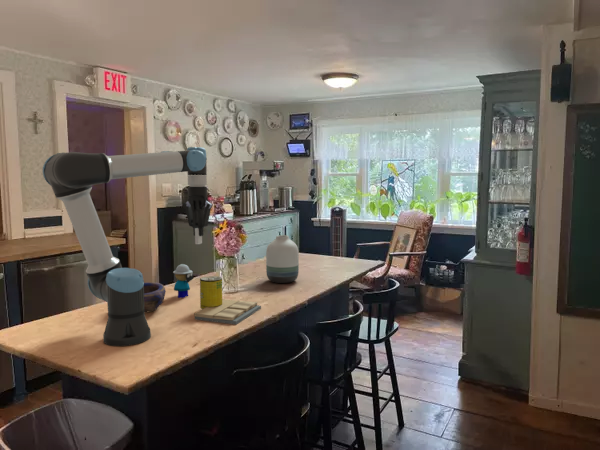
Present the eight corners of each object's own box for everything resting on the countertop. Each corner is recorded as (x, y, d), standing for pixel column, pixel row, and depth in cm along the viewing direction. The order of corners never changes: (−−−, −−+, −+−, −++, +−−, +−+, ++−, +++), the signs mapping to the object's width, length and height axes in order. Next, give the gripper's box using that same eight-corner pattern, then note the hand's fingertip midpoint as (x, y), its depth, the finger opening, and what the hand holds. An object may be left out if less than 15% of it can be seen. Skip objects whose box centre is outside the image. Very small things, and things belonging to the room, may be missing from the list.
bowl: (117, 318, 179) (116, 293, 178) (122, 306, 197) (121, 283, 195) (165, 315, 184) (165, 290, 183) (166, 303, 201) (165, 280, 200)
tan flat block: (232, 320, 173) (232, 317, 173) (213, 318, 176) (213, 315, 176) (244, 312, 183) (244, 310, 182) (226, 311, 185) (226, 308, 185)
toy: (188, 299, 207) (187, 266, 206) (170, 298, 209) (169, 265, 207) (196, 294, 216) (195, 262, 214) (178, 293, 217) (178, 262, 216)
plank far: (246, 311, 184) (246, 308, 184) (228, 309, 187) (228, 307, 187) (257, 304, 194) (257, 302, 194) (240, 303, 197) (240, 300, 196)
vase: (262, 284, 236) (261, 237, 234) (271, 276, 253) (271, 233, 250) (294, 286, 232) (294, 238, 230) (301, 278, 249) (302, 234, 246)
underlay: (236, 324, 173) (236, 318, 173) (194, 319, 179) (194, 313, 179) (260, 308, 193) (260, 302, 193) (222, 304, 199) (222, 298, 199)
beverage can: (220, 303, 197) (220, 275, 196) (224, 308, 188) (223, 279, 187) (199, 305, 194) (198, 276, 193) (201, 310, 185) (201, 281, 184)
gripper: (216, 186, 188) (217, 243, 190) (189, 185, 192) (190, 241, 195) (205, 186, 181) (207, 246, 183) (178, 186, 186) (179, 244, 188)
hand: (198, 243), depth 189 cm, fingers closed
